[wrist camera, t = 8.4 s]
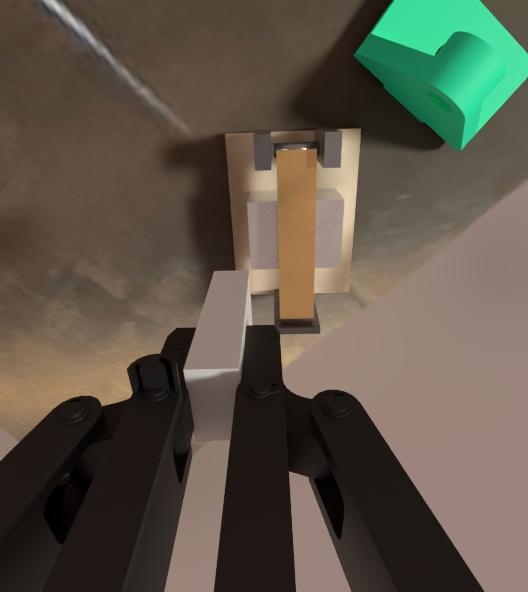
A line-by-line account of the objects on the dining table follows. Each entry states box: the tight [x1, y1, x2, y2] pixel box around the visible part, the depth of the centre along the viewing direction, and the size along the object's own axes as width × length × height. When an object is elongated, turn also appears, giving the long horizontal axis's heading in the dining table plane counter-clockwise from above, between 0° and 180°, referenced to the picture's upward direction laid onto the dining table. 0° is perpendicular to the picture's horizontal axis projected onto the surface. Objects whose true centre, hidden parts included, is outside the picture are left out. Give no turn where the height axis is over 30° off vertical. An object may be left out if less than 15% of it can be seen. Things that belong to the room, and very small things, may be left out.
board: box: [225, 128, 361, 295], centre depth 36 cm, size 12×16×1 cm
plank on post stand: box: [247, 128, 345, 334], centre depth 32 cm, size 8×16×8 cm, turn 2°
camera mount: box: [354, 0, 528, 150], centre depth 26 cm, size 12×8×10 cm, turn 54°
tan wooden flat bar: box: [274, 141, 320, 319], centre depth 30 cm, size 3×14×1 cm, turn 2°
